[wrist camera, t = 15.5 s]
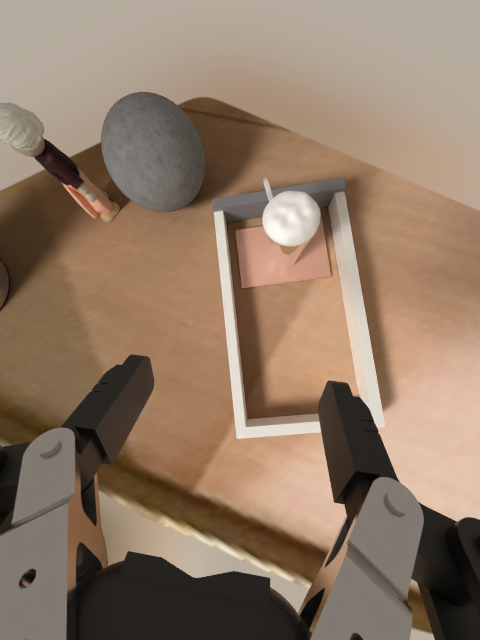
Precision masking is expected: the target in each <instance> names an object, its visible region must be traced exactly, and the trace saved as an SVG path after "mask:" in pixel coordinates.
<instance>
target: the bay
mask: <svg viewBox="0 0 480 640" xmlns="http://www.w3.org/2000/svg"><path fill="white" fill-rule="evenodd" d="M345 190H346V184H345V178H339V179H333V180H327V181H321V182H314V183H308V184H302V185H296V186H290V187H284V188H277V189H271V191H272V195H273V198H274V197H275V196H277V195H278V194H280V193H282V192H285V191H299V192H305V193H307V194H308V195H309V196H310V197H311V198H312V199H313V200H314V201H315V202H316V203H317V205H318V206H319V208H324V207H328V209H329V215H330V221H331V227H332V233H333V240H334V246H335V252H336V258H337V264H338V270H339V276H340V283H341V289H342V295H343V301H344V307H345V313H346V319H347V326H348V332H349V338H350V344H351V350H352V356H353V363H354V369H355V375H356V381H357V387H358V393H359V397H360V398H361V399H362V400H363V402H364V403H365V404H366V405H367V406H368V408H369V409H370V412H371V414H372V417H373V419H374V423H375V424H376V427H377V428H382V427H385V423H384V417H383V411H382V405H381V399H380V394H379V388H378V382H377V376H376V371H375V365H374V359H373V353H372V347H371V342H370V336H369V330H368V324H367V318H366V313H365V307H364V301H363V295H362V290H361V284H360V278H359V272H358V266H357V261H356V255H355V249H354V243H353V237H352V232H351V226H350V220H349V214H348V209H347V203H346V197H345ZM268 203H269V200H268V197H267V193H266V190H265V191H259V192H253V193H246V194H240V195H234V196H228V197H222V198H216V199H212V205H213V211H214V218H215V228H216V238H217V248H218V258H219V268H220V278H221V288H222V297H223V307H224V317H225V327H226V337H227V347H228V357H229V367H230V377H231V387H232V397H233V406H234V416H235V426H236V436H237V439H239V438H252V437H265V436H278V435H291V434H304V433H317V432H321V427H320V422H319V416H318V413H317V414H305V415H293V416H281V417H269V418H257V419H247V412H246V402H245V393H244V383H243V374H242V365H241V355H240V346H239V337H238V327H237V318H236V309H235V299H234V290H233V281H232V271H231V262H230V253H229V243H228V234H227V224H226V222H233V221H239V220H246V219H252V218H259V217H263V212H264V209H265V207H266V206H267V204H268ZM235 231H236V240H237V249H238V258H239V267H240V276H241V285H242V288H250V287H258V286H266V285H273V284H281V283H289V282H297V281H304V280H312V279H320V278H328V277H331V273H330V266H329V260H328V254H327V247H326V241H325V235H324V228H323V222H322V217H320V224H319V227H318V229H317V231H316V233H315V234H314V236H313V237H312V239H311V240H310V241H309V243H308V244H307V245H306V247H305V248H304V249H303V251H302V252H301V254H300V255H299V257H298V258H297V260H296V262H295V263H294V265H293V266H291V267H289V268H287V269H285V270H282V269H276V268H275V267H274V266H273V265H272V264H271V263H269V257H268V249H267V242H266V238H265V233H264V227H263V226H260V227H254V228H247V229H240V230H235Z"/></svg>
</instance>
